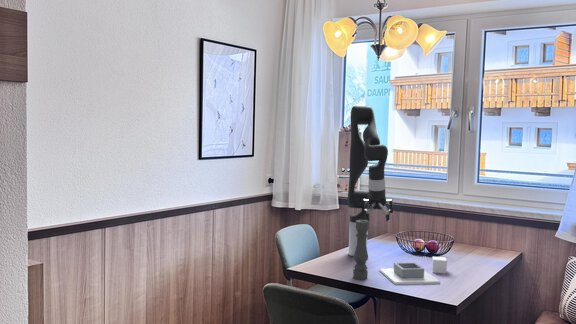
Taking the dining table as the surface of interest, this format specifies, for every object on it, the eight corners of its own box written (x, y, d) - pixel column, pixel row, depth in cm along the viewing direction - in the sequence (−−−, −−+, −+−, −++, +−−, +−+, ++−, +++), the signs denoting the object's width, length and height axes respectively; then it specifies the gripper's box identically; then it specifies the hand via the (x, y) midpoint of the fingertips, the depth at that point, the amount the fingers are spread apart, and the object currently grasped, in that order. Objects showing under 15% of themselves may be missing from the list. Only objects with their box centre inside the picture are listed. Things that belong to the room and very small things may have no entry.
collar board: (379, 270, 238) (379, 260, 238) (420, 270, 241) (421, 259, 241) (394, 284, 218) (395, 272, 218) (439, 283, 221) (440, 272, 221)
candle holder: (356, 280, 222) (358, 222, 220) (350, 276, 228) (352, 219, 226) (369, 279, 224) (372, 222, 222) (363, 275, 230) (366, 219, 228)
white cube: (432, 272, 238) (433, 259, 238) (431, 269, 244) (432, 256, 243) (446, 273, 237) (447, 260, 236) (445, 270, 243) (445, 257, 242)
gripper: (393, 185, 240) (393, 218, 245) (362, 184, 244) (363, 217, 248) (392, 190, 233) (392, 224, 238) (360, 190, 237) (361, 223, 241)
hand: (377, 220), depth 243 cm, fingers open, 8 cm apart
